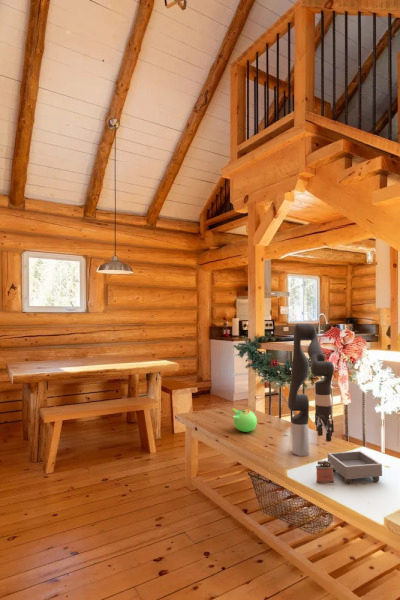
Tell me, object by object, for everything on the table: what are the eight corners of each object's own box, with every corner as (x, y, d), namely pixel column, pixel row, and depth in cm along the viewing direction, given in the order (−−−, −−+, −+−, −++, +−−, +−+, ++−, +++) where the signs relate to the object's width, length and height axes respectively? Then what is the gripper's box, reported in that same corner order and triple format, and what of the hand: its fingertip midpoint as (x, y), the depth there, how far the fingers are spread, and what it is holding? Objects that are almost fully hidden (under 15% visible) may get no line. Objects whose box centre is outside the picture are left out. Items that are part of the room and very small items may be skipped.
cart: (327, 470, 198) (327, 453, 198) (360, 467, 200) (360, 450, 201) (346, 485, 180) (346, 466, 180) (382, 482, 183) (381, 464, 183)
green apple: (258, 434, 256) (258, 412, 256) (232, 435, 256) (232, 412, 257) (255, 426, 274) (255, 405, 274) (231, 427, 274) (230, 406, 275)
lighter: (332, 480, 185) (331, 459, 186) (334, 483, 182) (334, 462, 182) (315, 481, 185) (314, 459, 185) (317, 484, 182) (317, 462, 182)
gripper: (309, 400, 191) (310, 434, 191) (322, 407, 177) (323, 443, 177) (323, 400, 193) (324, 433, 192) (338, 406, 178) (339, 442, 178)
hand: (324, 438), depth 184 cm, fingers open, 8 cm apart
